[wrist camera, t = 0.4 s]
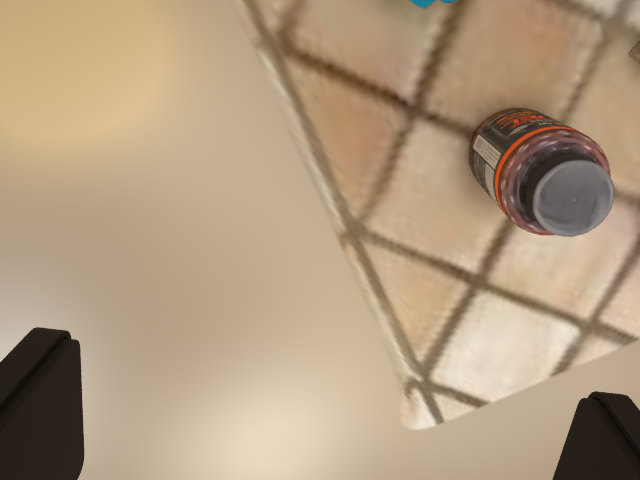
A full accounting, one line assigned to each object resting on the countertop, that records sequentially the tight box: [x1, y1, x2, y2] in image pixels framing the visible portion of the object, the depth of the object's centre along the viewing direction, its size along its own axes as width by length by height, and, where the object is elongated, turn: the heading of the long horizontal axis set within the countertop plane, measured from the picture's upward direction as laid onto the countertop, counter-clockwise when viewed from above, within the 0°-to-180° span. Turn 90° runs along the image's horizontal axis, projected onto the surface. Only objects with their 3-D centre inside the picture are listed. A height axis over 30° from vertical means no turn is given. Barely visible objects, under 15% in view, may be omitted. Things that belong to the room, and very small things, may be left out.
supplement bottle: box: [469, 108, 614, 237], centre depth 34 cm, size 6×6×11 cm
